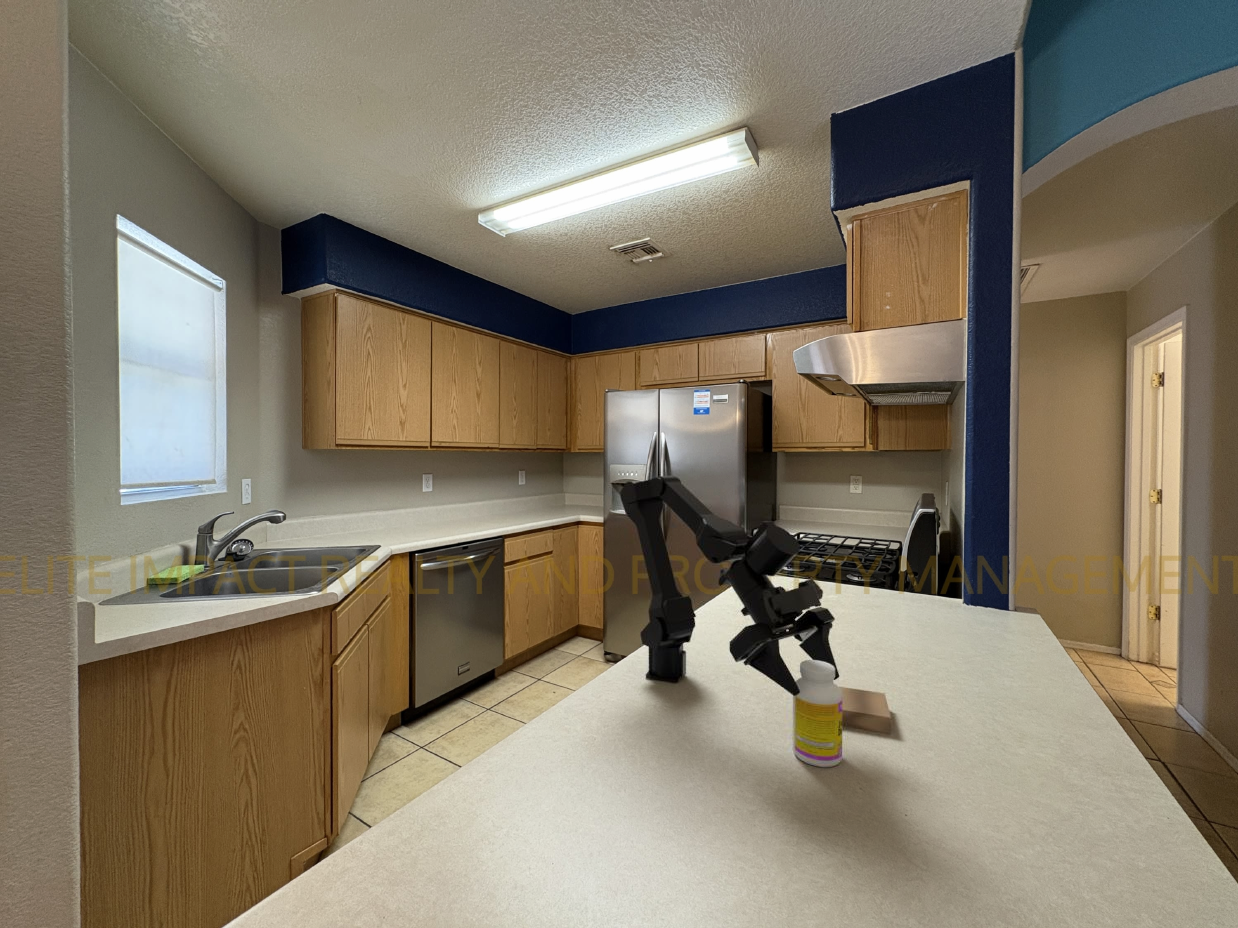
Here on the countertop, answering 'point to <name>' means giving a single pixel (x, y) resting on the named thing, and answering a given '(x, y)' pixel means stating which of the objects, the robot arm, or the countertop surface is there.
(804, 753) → the supplement bottle
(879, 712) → the walnut block
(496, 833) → the countertop surface
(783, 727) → the countertop surface
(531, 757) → the countertop surface
